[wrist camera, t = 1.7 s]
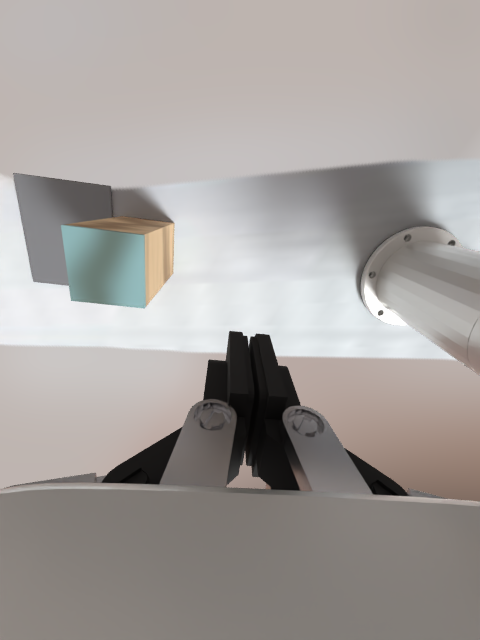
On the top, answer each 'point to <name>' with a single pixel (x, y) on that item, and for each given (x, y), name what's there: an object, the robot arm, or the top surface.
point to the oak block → (118, 260)
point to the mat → (56, 219)
